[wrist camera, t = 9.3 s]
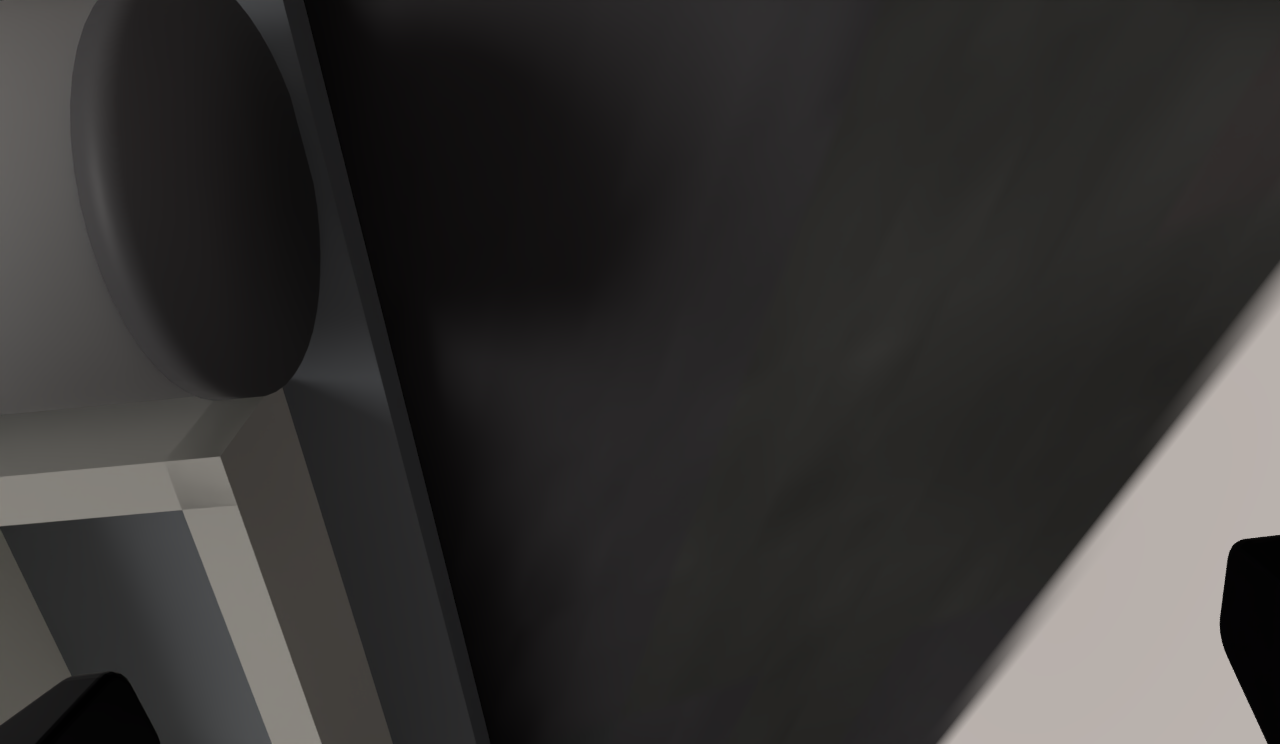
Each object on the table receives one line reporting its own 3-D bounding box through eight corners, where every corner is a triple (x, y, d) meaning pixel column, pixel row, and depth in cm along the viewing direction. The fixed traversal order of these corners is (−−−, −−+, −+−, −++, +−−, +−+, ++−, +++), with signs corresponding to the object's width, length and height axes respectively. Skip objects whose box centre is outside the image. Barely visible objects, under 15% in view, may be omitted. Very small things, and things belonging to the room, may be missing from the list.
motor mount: (495, 765, 26) (443, 1054, 20) (49, 796, 27) (-137, 1083, 21) (283, -81, 17) (64, -42, 11) (-373, 4, 18) (-931, 86, 12)
